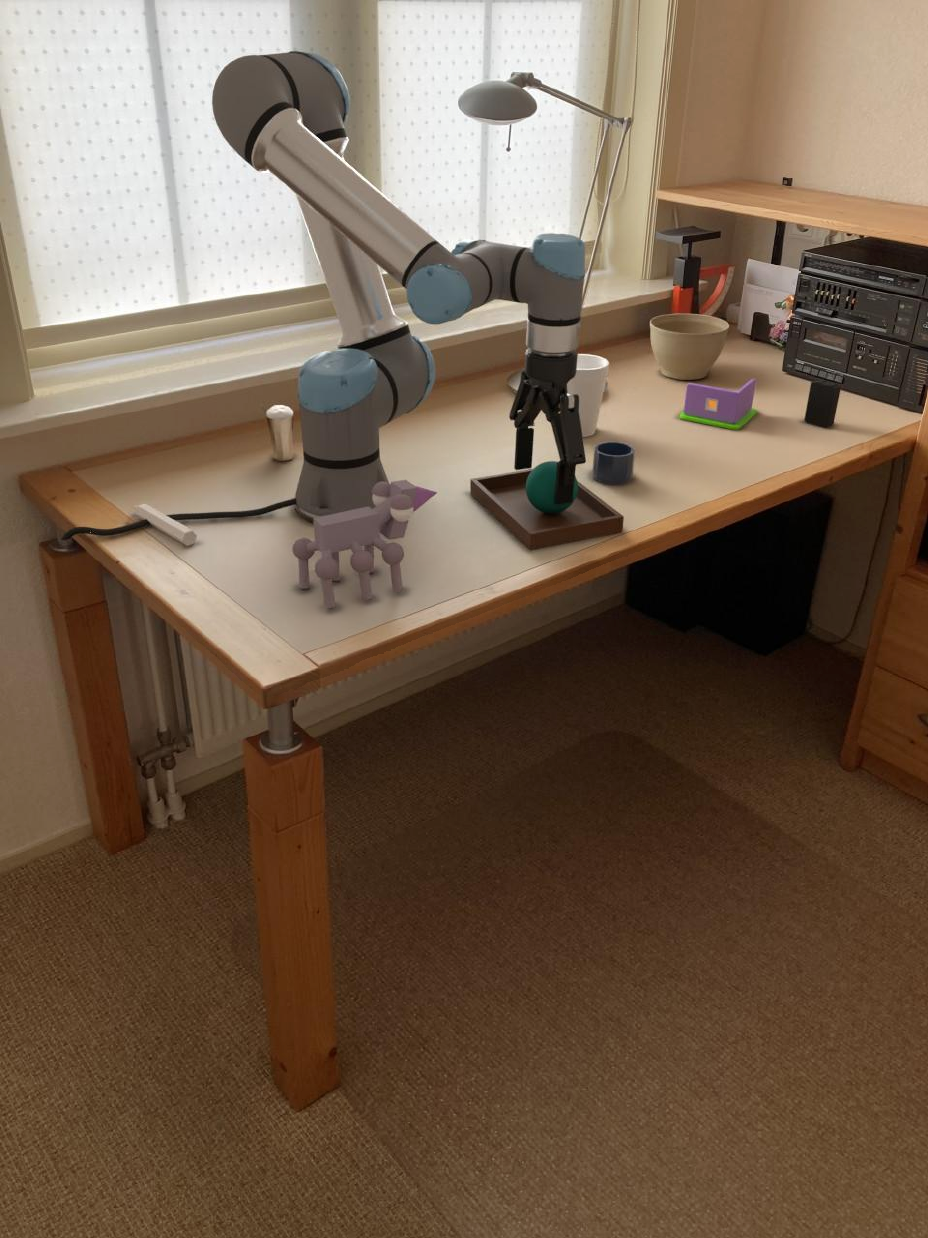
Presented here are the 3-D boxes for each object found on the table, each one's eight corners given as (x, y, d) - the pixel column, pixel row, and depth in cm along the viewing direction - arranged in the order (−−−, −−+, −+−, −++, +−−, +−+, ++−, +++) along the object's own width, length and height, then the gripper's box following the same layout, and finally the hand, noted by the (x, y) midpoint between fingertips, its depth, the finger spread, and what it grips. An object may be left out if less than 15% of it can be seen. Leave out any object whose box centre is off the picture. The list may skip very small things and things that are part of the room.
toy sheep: (421, 551, 154) (420, 463, 147) (457, 583, 146) (457, 491, 139) (291, 582, 145) (284, 491, 138) (321, 618, 137) (314, 522, 130)
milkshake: (262, 456, 184) (256, 400, 179) (291, 450, 186) (287, 395, 181) (270, 465, 181) (265, 408, 176) (300, 459, 183) (296, 404, 178)
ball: (531, 526, 161) (547, 485, 156) (511, 492, 166) (525, 451, 160) (576, 522, 164) (593, 482, 159) (555, 489, 169) (571, 449, 164)
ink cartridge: (833, 425, 199) (841, 384, 195) (827, 428, 198) (835, 387, 194) (810, 418, 202) (817, 378, 198) (803, 421, 201) (811, 380, 197)
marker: (135, 515, 165) (193, 547, 155) (123, 512, 163) (181, 544, 154) (140, 499, 165) (198, 530, 155) (129, 496, 163) (187, 527, 153)
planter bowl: (725, 366, 230) (732, 316, 224) (717, 389, 216) (724, 336, 211) (651, 359, 234) (656, 309, 228) (639, 381, 221) (644, 329, 215)
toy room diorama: (738, 431, 196) (743, 395, 193) (677, 418, 202) (681, 383, 198) (758, 412, 205) (764, 377, 202) (699, 400, 211) (704, 367, 207)
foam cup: (603, 423, 199) (608, 354, 193) (604, 441, 191) (609, 370, 185) (552, 420, 200) (556, 353, 194) (551, 438, 192) (555, 368, 186)
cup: (605, 487, 174) (607, 458, 171) (585, 472, 179) (587, 444, 176) (639, 481, 176) (642, 452, 174) (619, 466, 181) (621, 439, 179)
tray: (529, 550, 154) (530, 534, 153) (470, 493, 171) (470, 478, 170) (622, 532, 160) (624, 516, 158) (555, 479, 177) (556, 464, 175)
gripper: (618, 372, 144) (604, 514, 155) (536, 323, 163) (528, 452, 174) (570, 378, 141) (558, 522, 152) (491, 327, 161) (486, 458, 172)
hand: (542, 485), depth 163 cm, fingers open, 13 cm apart
